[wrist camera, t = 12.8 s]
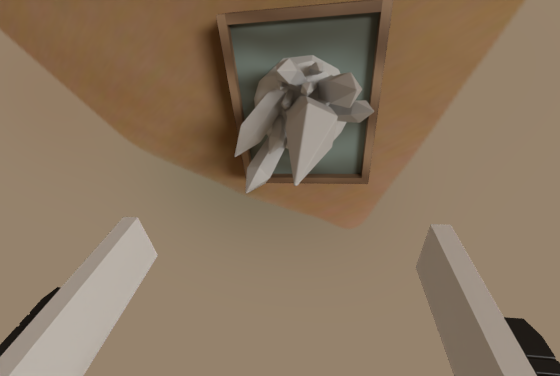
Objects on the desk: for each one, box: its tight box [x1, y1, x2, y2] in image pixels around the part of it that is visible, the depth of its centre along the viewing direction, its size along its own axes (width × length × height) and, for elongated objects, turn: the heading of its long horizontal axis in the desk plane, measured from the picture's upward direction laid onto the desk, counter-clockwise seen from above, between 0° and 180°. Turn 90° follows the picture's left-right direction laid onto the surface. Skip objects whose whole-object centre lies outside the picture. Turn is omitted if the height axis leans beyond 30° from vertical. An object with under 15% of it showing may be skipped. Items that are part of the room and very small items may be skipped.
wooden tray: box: [216, 0, 393, 184], centre depth 28 cm, size 18×15×4 cm
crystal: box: [235, 55, 374, 194], centre depth 22 cm, size 10×13×15 cm
